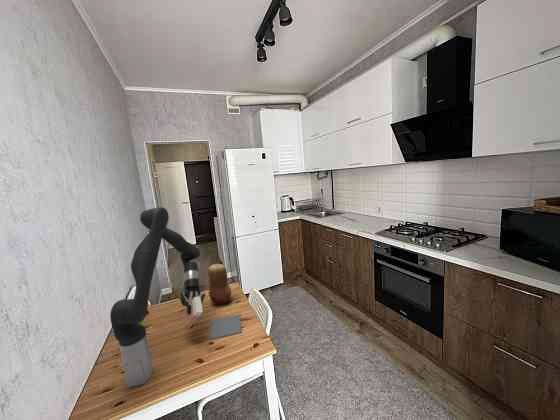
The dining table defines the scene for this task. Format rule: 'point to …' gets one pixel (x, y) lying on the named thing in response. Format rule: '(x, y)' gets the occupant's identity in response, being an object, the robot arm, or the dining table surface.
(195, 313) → the block
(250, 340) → the dining table surface
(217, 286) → the butternut squash
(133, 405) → the dining table surface
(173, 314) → the dining table surface
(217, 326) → the mat
